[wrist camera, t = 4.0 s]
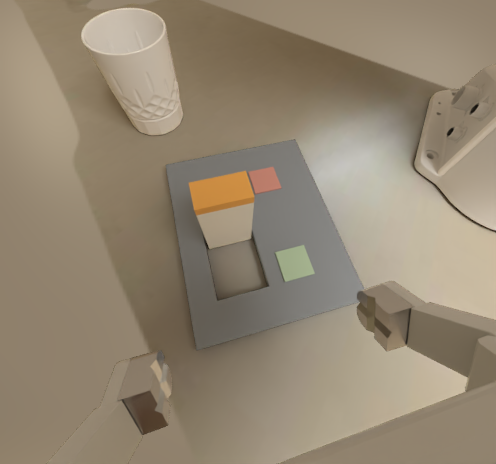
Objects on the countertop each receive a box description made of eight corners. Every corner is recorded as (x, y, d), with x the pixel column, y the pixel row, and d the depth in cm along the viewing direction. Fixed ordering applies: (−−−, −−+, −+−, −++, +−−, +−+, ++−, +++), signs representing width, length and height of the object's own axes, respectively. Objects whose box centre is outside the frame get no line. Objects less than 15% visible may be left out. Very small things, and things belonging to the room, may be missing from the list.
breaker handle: (250, 238, 25) (254, 196, 17) (209, 249, 24) (194, 210, 16) (245, 219, 25) (245, 170, 18) (204, 228, 25) (188, 182, 17)
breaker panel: (363, 300, 23) (369, 298, 21) (198, 350, 21) (196, 350, 19) (293, 145, 30) (295, 138, 29) (168, 170, 28) (165, 163, 27)
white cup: (124, 103, 33) (78, 13, 23) (181, 92, 34) (158, 2, 25) (132, 145, 30) (82, 61, 20) (193, 132, 31) (172, 46, 22)
